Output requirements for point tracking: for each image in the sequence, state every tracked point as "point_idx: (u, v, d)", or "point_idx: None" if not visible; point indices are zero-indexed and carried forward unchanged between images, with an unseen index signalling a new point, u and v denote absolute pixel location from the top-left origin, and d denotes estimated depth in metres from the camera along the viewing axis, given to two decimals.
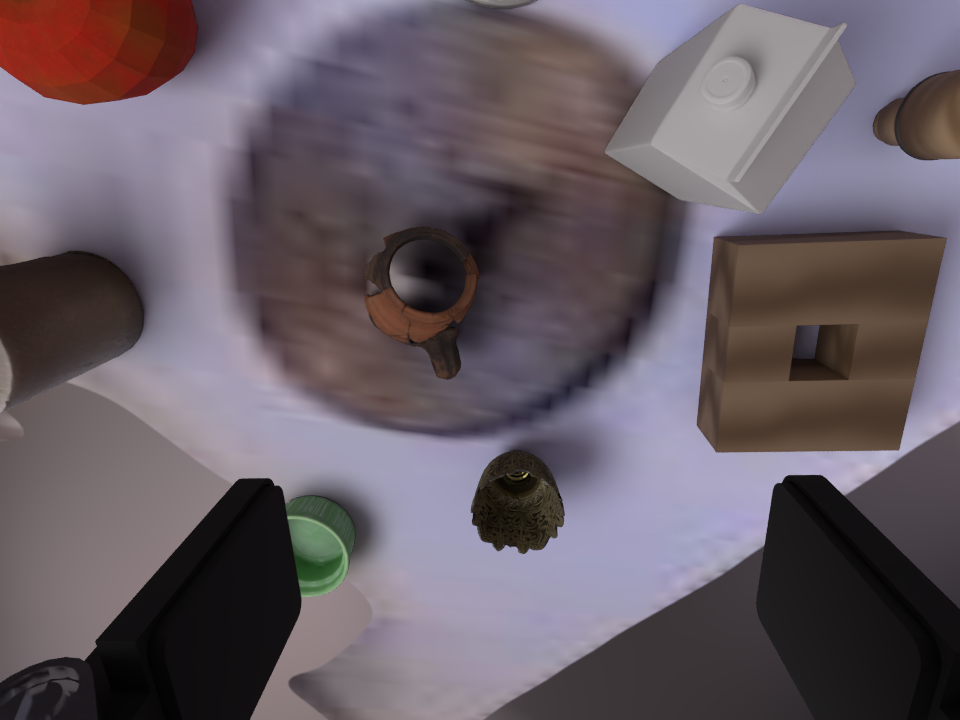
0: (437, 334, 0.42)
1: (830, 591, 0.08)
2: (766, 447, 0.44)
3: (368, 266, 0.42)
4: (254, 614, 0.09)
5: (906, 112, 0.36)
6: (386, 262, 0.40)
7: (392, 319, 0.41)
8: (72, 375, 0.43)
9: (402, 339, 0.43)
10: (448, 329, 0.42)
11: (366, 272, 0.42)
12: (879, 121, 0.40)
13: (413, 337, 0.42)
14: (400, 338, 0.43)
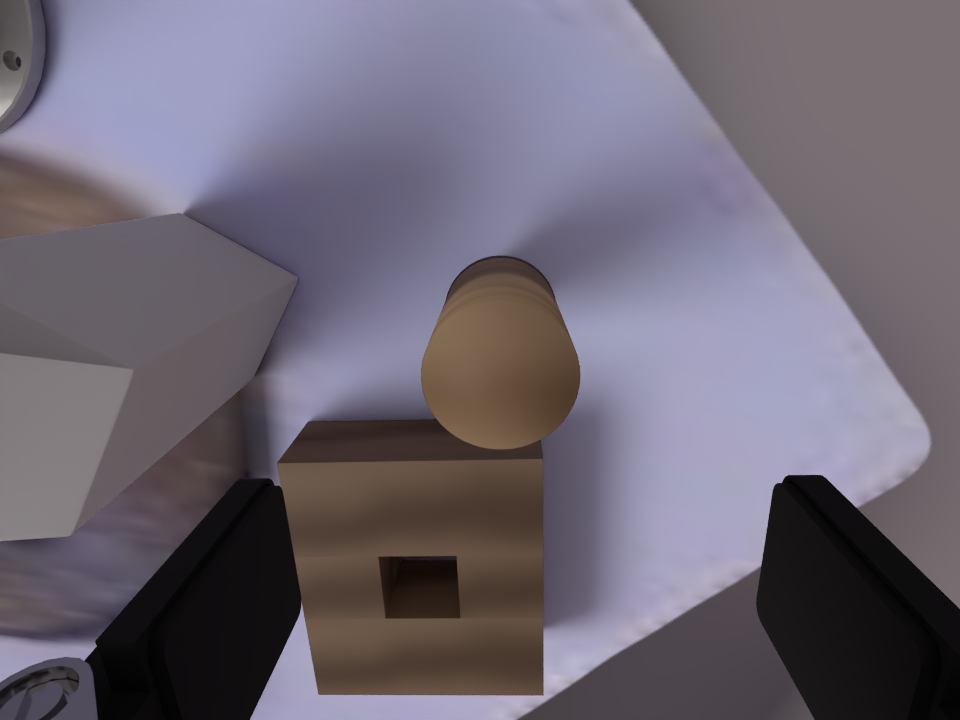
0: None
1: (830, 591, 0.08)
2: (378, 690, 0.34)
3: None
4: (254, 614, 0.09)
5: None
6: None
7: None
8: None
9: None
10: None
11: None
12: None
13: None
14: None
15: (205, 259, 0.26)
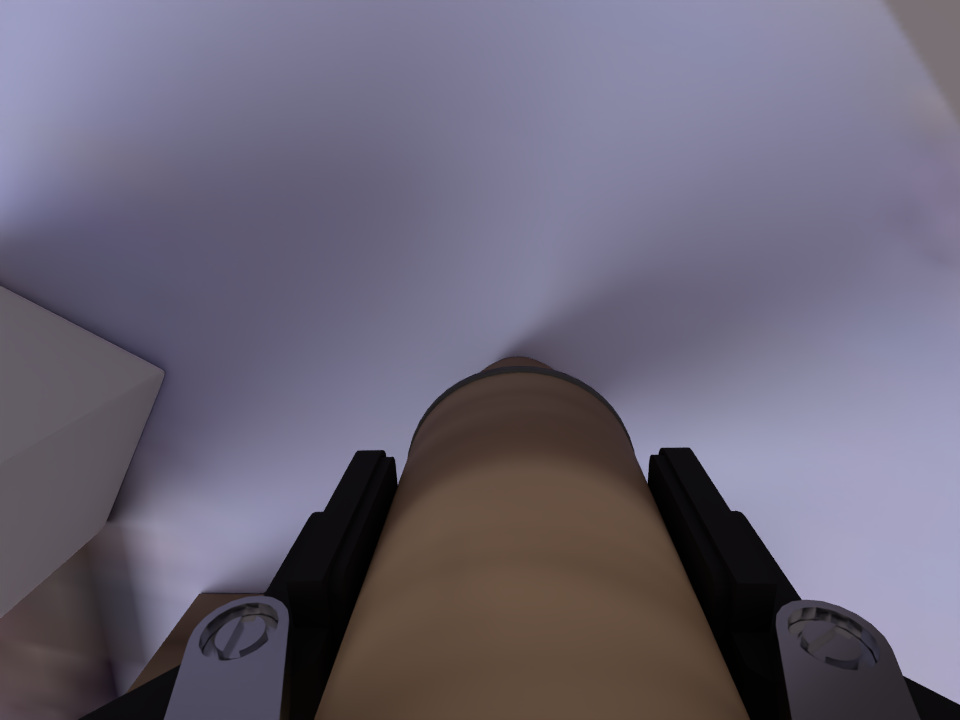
0: None
1: (676, 545, 0.09)
2: None
3: None
4: None
5: None
6: None
7: None
8: None
9: None
10: None
11: None
12: None
13: None
14: None
15: None
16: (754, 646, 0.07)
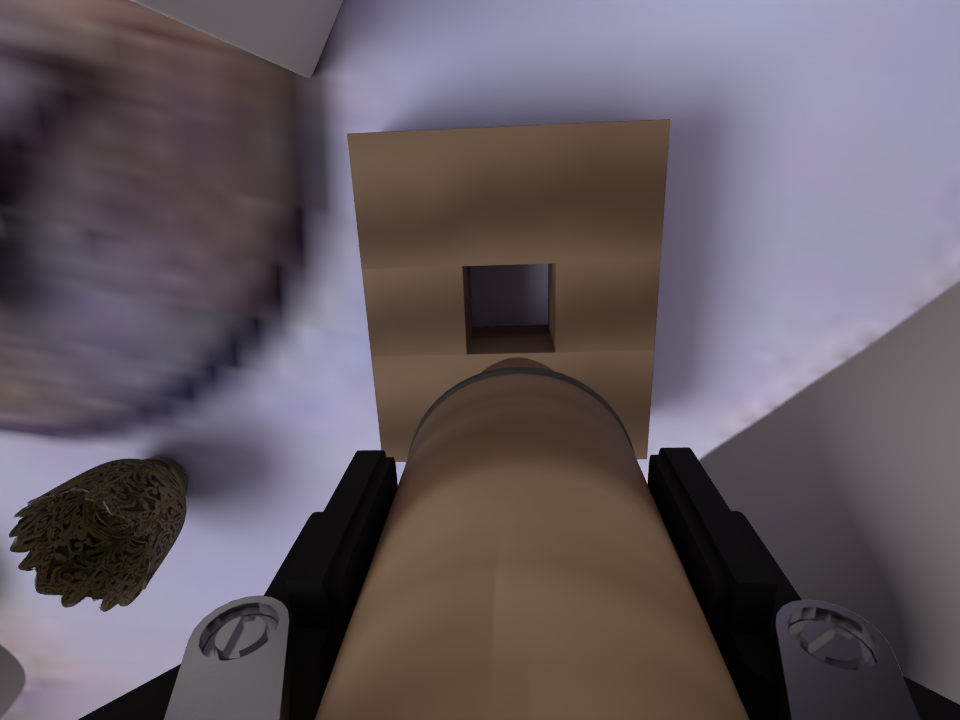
0: None
1: (676, 545, 0.09)
2: None
3: None
4: None
5: None
6: None
7: None
8: None
9: None
10: None
11: None
12: None
13: None
14: None
15: None
16: (754, 646, 0.07)
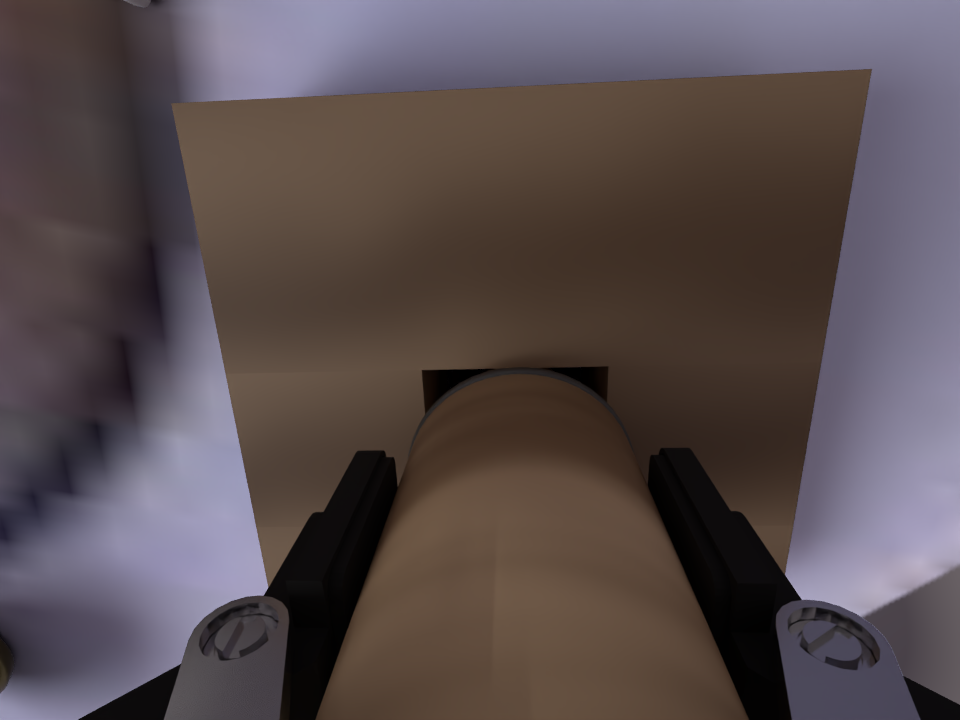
0: None
1: (676, 545, 0.09)
2: None
3: None
4: None
5: None
6: None
7: None
8: None
9: None
10: None
11: None
12: None
13: None
14: None
15: None
16: (755, 646, 0.07)
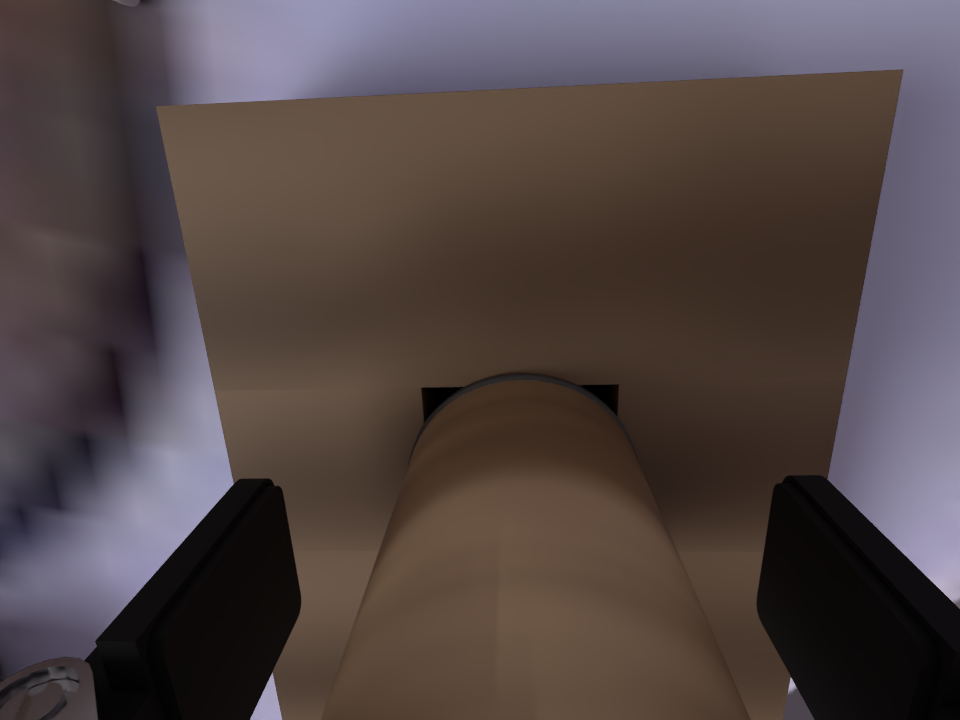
0: None
1: (830, 591, 0.08)
2: None
3: None
4: (254, 614, 0.09)
5: None
6: None
7: None
8: None
9: None
10: None
11: None
12: None
13: None
14: None
15: None
16: None
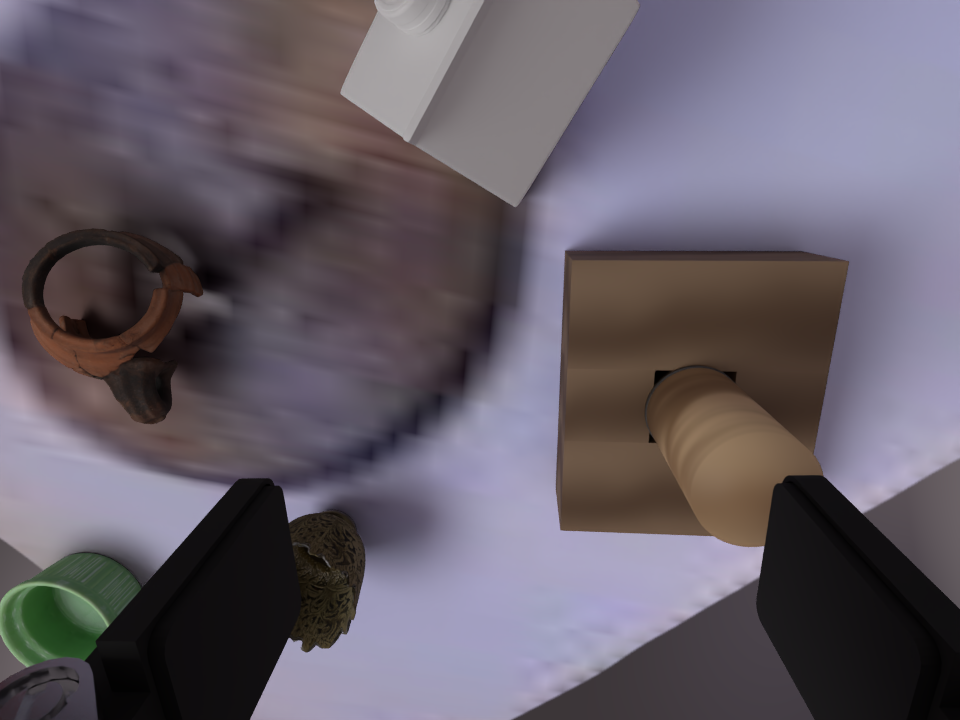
0: (120, 367, 0.33)
1: (830, 591, 0.08)
2: (624, 527, 0.34)
3: None
4: (254, 614, 0.09)
5: (649, 409, 0.30)
6: (33, 274, 0.31)
7: (54, 347, 0.32)
8: None
9: (82, 373, 0.33)
10: (136, 360, 0.33)
11: None
12: None
13: (89, 370, 0.33)
14: (78, 372, 0.33)
15: None
16: None
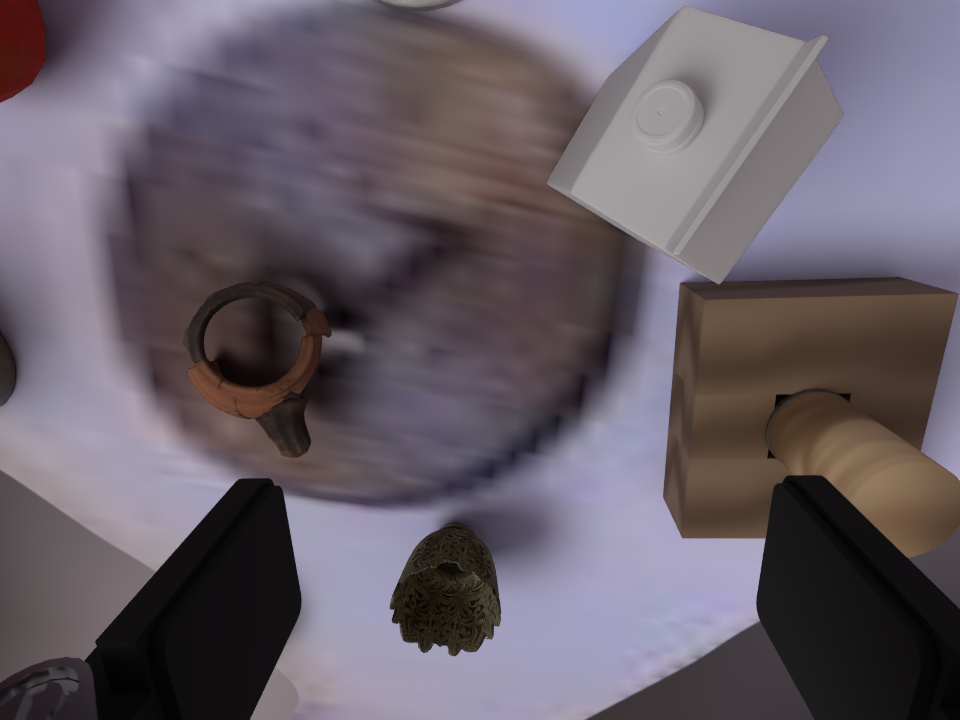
0: (273, 409, 0.35)
1: (830, 591, 0.08)
2: (741, 533, 0.37)
3: (186, 332, 0.35)
4: (254, 614, 0.09)
5: (773, 430, 0.34)
6: (197, 330, 0.33)
7: (214, 395, 0.35)
8: None
9: (235, 415, 0.36)
10: (286, 402, 0.36)
11: (184, 339, 0.35)
12: None
13: (244, 413, 0.36)
14: (232, 414, 0.36)
15: None
16: None
